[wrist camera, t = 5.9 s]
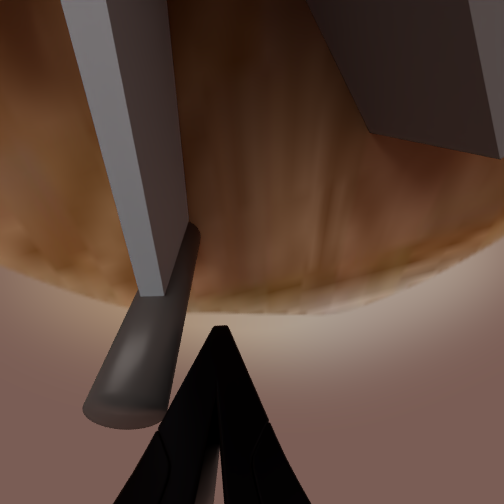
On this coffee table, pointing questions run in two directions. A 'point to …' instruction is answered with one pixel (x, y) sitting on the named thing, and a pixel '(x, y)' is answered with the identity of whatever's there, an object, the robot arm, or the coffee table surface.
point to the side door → (138, 197)
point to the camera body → (422, 68)
